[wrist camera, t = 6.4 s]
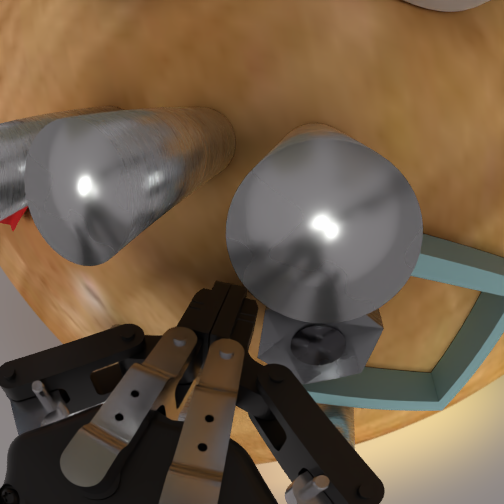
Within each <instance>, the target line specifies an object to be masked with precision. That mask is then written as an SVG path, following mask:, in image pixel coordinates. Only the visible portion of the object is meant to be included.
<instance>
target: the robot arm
mask: <svg viewBox="0 0 504 504" xmlns="http://www.w3.org/2000/svg"><path fill="white" fill-rule="evenodd" d="M246 295H247V288H246V287H243V286H238V285H234V284H229V283H225V282H220V281H216V282H215V284H214V286H213V288H212V290H209V289H205V288H203V289H202V290H200V291H199V292H197V293H196V294H195V296H194V297H193V299H192V302H191V303H190V304H189V306H188V308H187V309H186V311H185V313H184V315H183V316H182V318H181V320H180V321H179V323H178V325H177V327H173V328H171V329H169V330H167V331H166V332H165V333H164V335H161V336H152V335H144V332H143V330H142V329H141V328H140V327H139V326H137V325H134V324H123V325H120V326H117V327H114V328H111V329H108V330H105V331H102V332H99V333H96V334H93V335H90V336H87V337H84V338H81V339H78V340H75V341H72V342H69V343H66V344H63V345H60V346H57V347H54V348H51V349H47V350H44V351H41V352H38V353H35V354H32V355H29V356H25V357H22V358H19V359H15V360H12V361H9V362H6V363H4V364H3V365H2V366H1V367H0V386H1V387H2V389H3V390H4V392H5V393H6V395H7V397H8V398H9V399H10V402H11V407H12V411H13V415H14V420H15V423H16V427H17V431H18V434H19V436H18V437H16V438H15V439H14V441H13V442H12V443H11V445H10V448H9V450H8V456H7V473H6V477H5V481H4V484H3V486H2V487H1V488H0V504H278V503H277V501H276V499H275V498H274V496H273V494H272V493H271V491H270V489H269V488H268V486H267V484H266V483H265V481H264V479H263V478H262V476H261V474H260V473H259V471H258V469H257V467H256V465H255V464H254V462H253V460H252V458H251V457H250V455H249V454H248V453H247V451H246V450H245V449H244V448H243V447H242V446H240V445H239V444H238V443H237V442H235V441H234V440H232V439H231V438H230V433H231V428H232V422H233V417H234V411H235V405H236V406H238V407H239V408H241V409H243V410H245V411H246V412H248V415H249V417H250V419H251V421H252V422H253V424H254V426H255V427H256V429H257V430H258V432H259V434H260V435H261V437H262V438H263V440H264V441H265V443H266V445H267V446H268V448H269V449H270V451H271V452H272V454H273V455H274V457H275V458H276V460H277V461H278V463H279V464H280V466H281V467H282V469H283V470H284V472H285V473H286V474H287V476H288V477H289V479H290V480H291V482H292V483H291V484H290V485H289V486H288V488H287V489H286V492H285V499H286V502H287V503H288V504H379V503H380V502H381V501H382V498H383V497H384V486H383V483H382V482H381V480H380V479H379V478H378V477H377V476H376V475H375V473H374V472H373V471H372V470H371V469H370V467H369V466H368V465H367V464H366V463H365V462H364V460H363V459H362V458H361V457H360V456H359V454H357V452H356V451H355V450H354V449H353V447H352V446H351V445H350V444H349V443H348V441H347V440H346V439H345V438H344V436H343V435H342V434H341V433H340V432H339V430H338V429H337V428H336V427H335V425H334V424H333V423H332V422H331V421H330V419H329V418H328V417H327V416H326V414H325V413H324V412H323V411H322V409H321V408H320V407H319V406H318V404H317V403H316V402H315V401H314V399H313V398H312V397H311V395H310V394H309V393H308V392H307V390H306V389H305V388H304V387H303V385H302V384H301V383H300V381H299V380H298V379H297V378H296V376H295V375H294V374H293V372H292V371H291V370H290V369H289V368H287V367H286V366H284V365H281V364H275V363H273V364H267V365H265V366H263V365H261V364H259V363H257V362H256V361H254V360H253V359H252V358H251V357H250V355H249V353H248V350H249V346H250V342H251V339H252V335H253V331H254V326H255V321H256V316H257V311H258V306H257V303H256V300H252V299H248V298H246ZM117 362H118V363H117ZM114 363H117V364H115V365H112V364H114ZM109 365H112V366H109ZM106 366H109V367H107V368H104V369H101V368H103V367H106ZM98 369H101V370H98ZM200 369H203V371H202V374H201V377H200V381H199V384H198V385H196V386H195V384H196V381H197V376H198V373H199V371H200ZM95 370H98V371H96V372H93V371H95ZM194 386H195V388H194V391H193V395H192V398H191V401H190V405H189V408H188V411H187V415H186V418H185V421H178V418H179V414H180V412H181V410H182V408H183V406H184V405H185V403H186V401H187V399H188V397H189V395H190V393H191V391H192V389H193V387H194ZM103 402H104V403H103ZM100 403H103V404H100ZM97 404H99V405H97ZM95 405H97V406H95ZM92 406H94V407H92ZM89 407H92V408H89ZM87 408H89V409H87ZM84 409H87V410H84ZM81 410H84V411H82V412H79V413H77V414H74V415H72V416H69V415H70V414H72V413H75V412H78V411H81Z"/></svg>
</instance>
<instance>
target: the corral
mask: <svg viewBox="0 0 504 504" xmlns="http://www.w3.org/2000/svg"><path fill="white" fill-rule="evenodd" d="M411 276H414V277H419V278H424V279H428V280H433V281H437V282H442V283H447V284H451V285H456V286H460V287H465V288H469V289H474V290H478V291H482V292H481V294H480V296H479V298H478V300H477V302H476V303H475V305H474V307H473V309H472V311H471V312H470V314H469V316H468V318H467V319H466V321H465V323H464V324H463V326H462V328H461V329H460V331H459V332H458V334H457V336H456V337H455V339H454V340H453V342H452V343H451V345H450V346H449V348H448V349H447V351H446V352H445V354H444V355H443V357H442V358H441V360H440V361H439V362H438V364H437V365H436V367H435V368H434V369H433V371H432V372H431V373H424V372H410V371H399V370H389V369H380V368H371V367H364V369H363V371H362V372H361V373H358V374H354V375H350V376H345V377H341V378H336V379H331V380H326V381H321V382H316V383H311V384H305V385H304V384H302V383H301V384H302V385H303V387H304V388H305V389H306V390H307V392H308V393H309V394H310V395H311V397H312V398H313V399H314V401H315V402H316V403H321V404H329V405H337V406H346V407H357V408H369V409H385V410H414V411H434V410H443V409H444V408H445V407H446V406H447V404H448V403H449V402H450V401H451V400H452V399H453V398H454V397H455V396H456V394H457V393H458V392H459V391H460V390H461V389H462V388H463V386H464V385H465V384H466V383H467V382H468V380H469V379H470V378H471V377H472V375H473V374H474V373H475V372H476V370H477V369H478V368H479V366H480V365H481V364H482V363H483V361H484V360H485V358H486V357H487V356H488V354H489V353H490V352H491V350H492V349H493V347H494V346H495V344H496V343H497V341H498V340H499V339H500V337H501V335H502V334H503V332H504V258H502V257H499V256H496V255H493V254H490V253H487V252H484V251H481V250H478V249H474V248H471V247H468V246H464V245H461V244H458V243H454V242H451V241H448V240H444V239H441V238H437V237H433V236H430V235H426V234H423V239H422V246H421V251H420V255H419V258H418V261H417V264H416V266H415V268H414V270H413V272H412V274H411Z"/></svg>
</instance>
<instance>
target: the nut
mask: <svg viewBox="0 0 504 504" xmlns="http://www.w3.org/2000/svg"><path fill="white" fill-rule="evenodd" d="M383 329H384V328H383V324H382V320H381V316H380V312H379V308H378V309H376V310H374V311H372V312H371V313H368V314H366V315H364V316H361V317H359V318H355V319H352V320H349V321H343V322H338V323H311V322H304V321H300V320H296V319H292V318H289V317H287V316H284V315H282V314H280V313H278V312H276V311H274V310H272V309H270V308H269V307H267V306H266V309H265V316H264V322H263V328H262V334H261V340H260V346H259V352H258V358H259V359H261V360H262V361H264V362H266V363H267V364H273V363H275V364H281V365H284V366H286V367H287V368H289V369H290V370H291V371H292V372H293V374H294V375H295V376H296V378H297V379H298V380H299V381H300V383H302V384H304V385H305V384H311V383H316V382H321V381H326V380H331V379H336V378H341V377H345V376H350V375H354V374H358V373H361V372H362V371H363V369H364V367H365V365H366V363H367V361H368V359H369V357H370V355H371V353H372V351H373V349H374V347H375V345H376V343H377V341H378V339H379V337H380V335H381V333H382V331H383Z"/></svg>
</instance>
